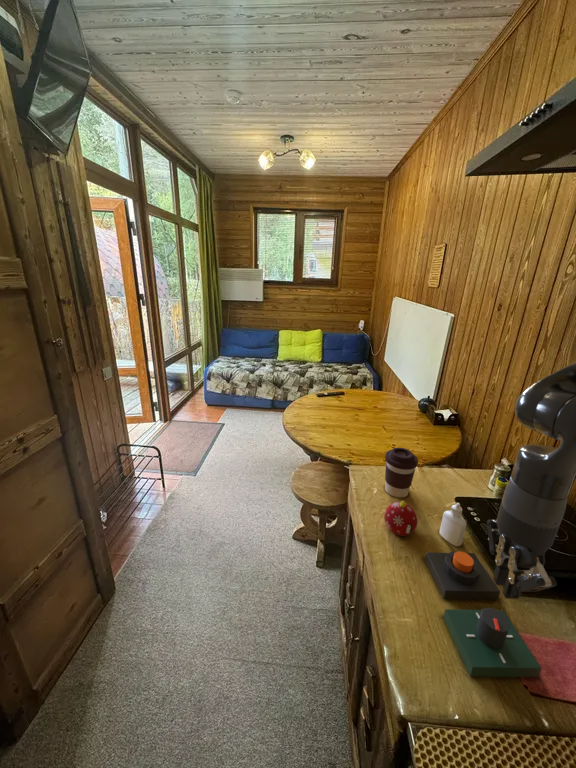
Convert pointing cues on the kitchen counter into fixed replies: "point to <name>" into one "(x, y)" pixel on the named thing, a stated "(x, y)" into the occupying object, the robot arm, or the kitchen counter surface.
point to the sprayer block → (460, 578)
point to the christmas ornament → (400, 518)
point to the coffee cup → (399, 471)
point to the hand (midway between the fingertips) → (504, 589)
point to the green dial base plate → (485, 659)
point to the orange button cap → (463, 562)
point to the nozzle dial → (492, 628)
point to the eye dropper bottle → (453, 525)
